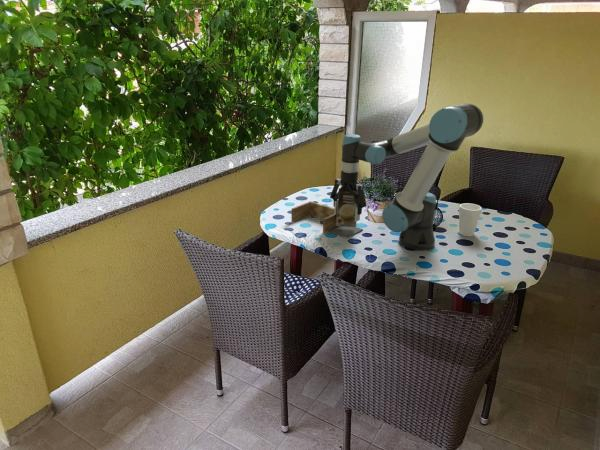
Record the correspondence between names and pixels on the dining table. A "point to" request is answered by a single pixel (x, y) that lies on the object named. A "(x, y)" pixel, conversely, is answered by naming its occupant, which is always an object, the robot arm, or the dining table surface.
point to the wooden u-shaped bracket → (316, 214)
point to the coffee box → (346, 209)
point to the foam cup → (468, 218)
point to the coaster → (346, 231)
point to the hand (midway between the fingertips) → (346, 217)
